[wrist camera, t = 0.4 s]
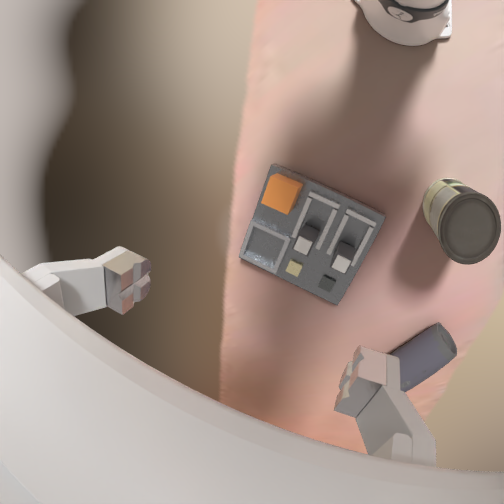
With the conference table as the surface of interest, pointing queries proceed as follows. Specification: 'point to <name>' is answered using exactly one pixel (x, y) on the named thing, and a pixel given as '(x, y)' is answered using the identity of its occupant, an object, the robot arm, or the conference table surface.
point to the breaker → (342, 257)
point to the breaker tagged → (305, 240)
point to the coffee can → (462, 220)
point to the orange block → (281, 193)
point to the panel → (331, 233)
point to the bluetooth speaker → (424, 355)
